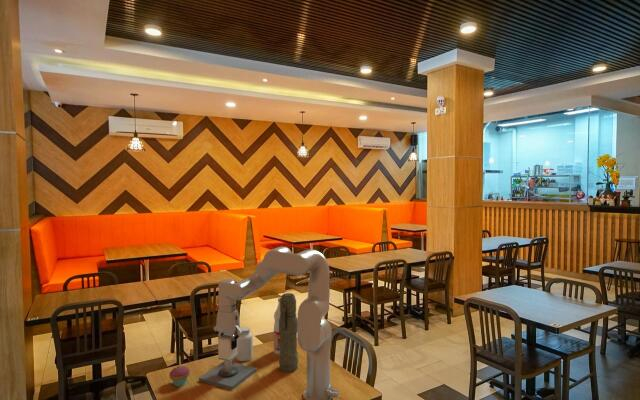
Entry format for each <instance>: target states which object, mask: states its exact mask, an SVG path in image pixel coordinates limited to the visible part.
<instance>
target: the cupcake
mask: <svg viewBox="0 0 640 400" xmlns="http://www.w3.org/2000/svg"><path fill="white" fill-rule="evenodd" d="M190 375H191V369H190V368H189V367H187V366H184V365H182V364H181V356H180V354H179V356H178V366H177V367H174V368H173V369H171V371H170V372H169V379H170V380H171V381H172V383H173V386H175V387H182V386H184V385H185V384H186V382H187V381H188V380H187V379H188V377H189V376H190Z"/></svg>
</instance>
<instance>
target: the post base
mask: <svg viewBox="0 0 640 400" xmlns="http://www.w3.org/2000/svg"><path fill="white" fill-rule="evenodd" d="M256 372H257V367H253V366H249V365H245V364H241V363H240V364H239V363H235V362H233V360H231V361H230V362H228V361H224V360H223V361H222V362H221V363H220V364H218V365H216V366H215V367H214V368H213V367H212V369H210V370H209V371H207V372H206V373H204V374H203V375H201V376H200V377H199V378H198V382H200V383H204V384H208V385H212V386H215V387H219V388H223V389H227V390H230V391H233V390H235V388H237V387H238V386H240V385H241V384H242V383H243V382H244V381H246V380H247V379H249V378H250V377H251V376H252V375H254V374H255V373H256Z"/></svg>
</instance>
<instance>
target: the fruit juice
mask: <svg viewBox="0 0 640 400" xmlns="http://www.w3.org/2000/svg"><path fill="white" fill-rule="evenodd" d="M280 299H281V297H279V298H278V299H277V301H278V302H277V308H276V310H275V312H274V314H273V318H274V319H273V320H274V323H273V353H274V354H275V355H276V356H279V354H280V333H279V318H280V314H281V312H280Z"/></svg>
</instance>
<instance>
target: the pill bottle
mask: <svg viewBox="0 0 640 400" xmlns="http://www.w3.org/2000/svg"><path fill="white" fill-rule="evenodd" d="M240 329H241V331H242V332H243V333H242V334H241V335H240V337H239V338H238V339H237V345H238V356H237V357H236V358H235V359H236V360H237V361H238V362H248V361H250V360H252V359H253V353H254V351H253V347H254V346H253V345H254V344H253V338H254V337H253V334H252V333H251V329H250V327H248V326H242V327H240Z"/></svg>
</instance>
